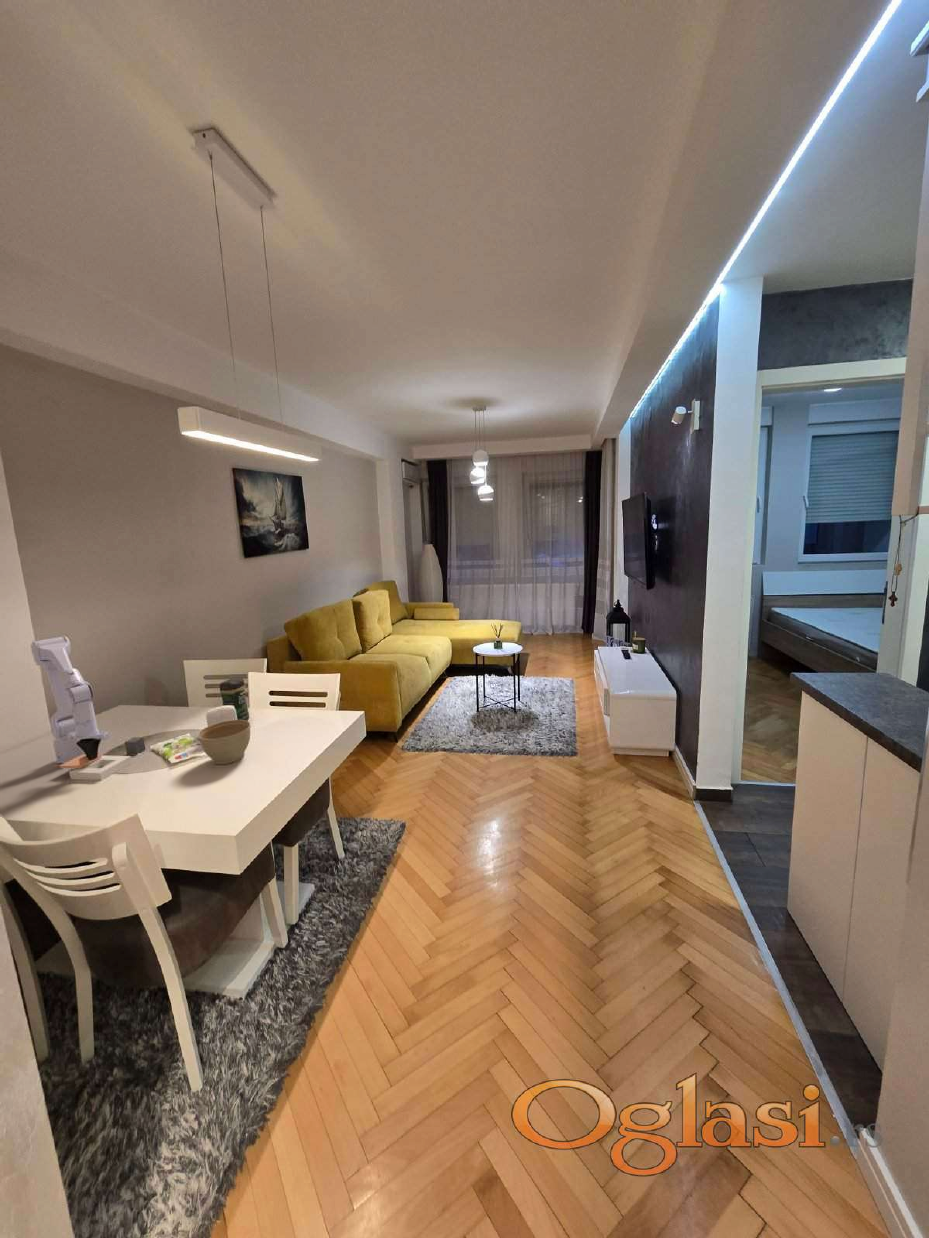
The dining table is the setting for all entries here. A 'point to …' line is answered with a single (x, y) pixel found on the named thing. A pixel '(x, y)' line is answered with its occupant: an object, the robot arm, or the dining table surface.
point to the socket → (98, 773)
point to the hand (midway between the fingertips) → (93, 758)
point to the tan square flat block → (79, 762)
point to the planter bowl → (225, 740)
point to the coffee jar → (235, 696)
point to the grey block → (135, 745)
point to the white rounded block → (221, 714)
